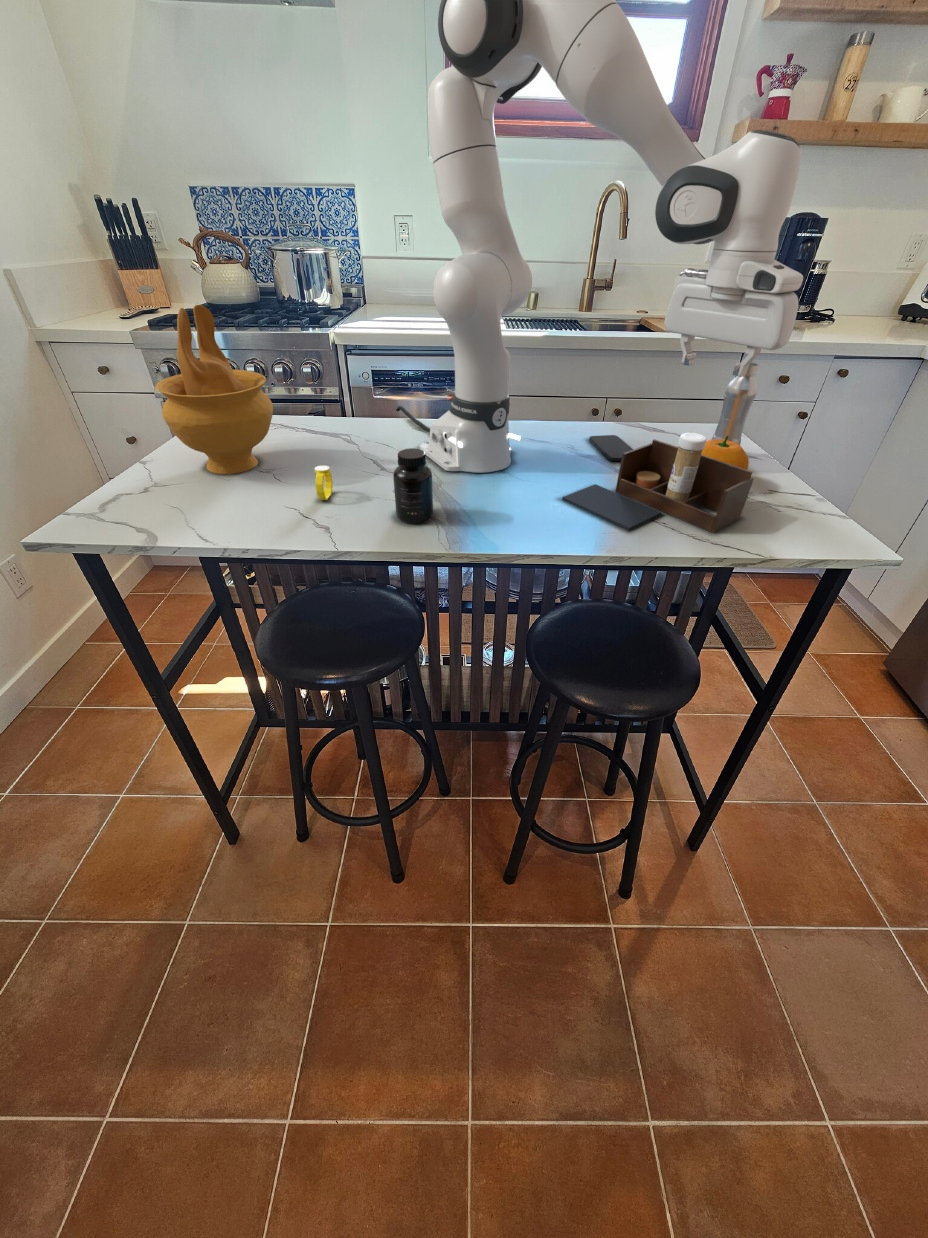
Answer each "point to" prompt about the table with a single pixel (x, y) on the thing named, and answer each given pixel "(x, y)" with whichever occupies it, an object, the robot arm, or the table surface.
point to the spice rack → (711, 489)
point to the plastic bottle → (737, 405)
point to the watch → (321, 474)
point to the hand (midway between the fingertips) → (712, 369)
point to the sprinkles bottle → (685, 465)
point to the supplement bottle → (413, 487)
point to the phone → (610, 446)
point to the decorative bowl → (214, 400)
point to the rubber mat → (612, 507)
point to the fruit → (726, 452)
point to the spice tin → (647, 479)
